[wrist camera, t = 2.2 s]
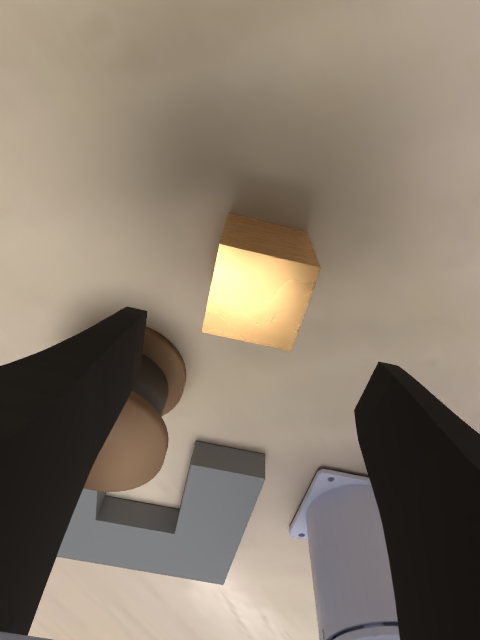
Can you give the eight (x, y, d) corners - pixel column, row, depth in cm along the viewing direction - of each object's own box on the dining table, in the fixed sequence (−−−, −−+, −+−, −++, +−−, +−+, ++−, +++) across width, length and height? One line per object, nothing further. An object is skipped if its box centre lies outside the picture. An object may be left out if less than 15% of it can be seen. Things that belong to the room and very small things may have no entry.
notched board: (264, 454, 27) (265, 478, 25) (225, 560, 33) (223, 584, 32) (7, 404, 25) (-12, 425, 24) (20, 524, 32) (6, 548, 30)
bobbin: (194, 336, 22) (173, 406, 17) (177, 421, 25) (156, 501, 20) (75, 310, 22) (15, 374, 16) (74, 401, 25) (24, 478, 20)
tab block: (306, 231, 19) (321, 267, 14) (284, 300, 21) (291, 351, 16) (228, 212, 18) (219, 243, 14) (214, 284, 20) (201, 331, 16)
